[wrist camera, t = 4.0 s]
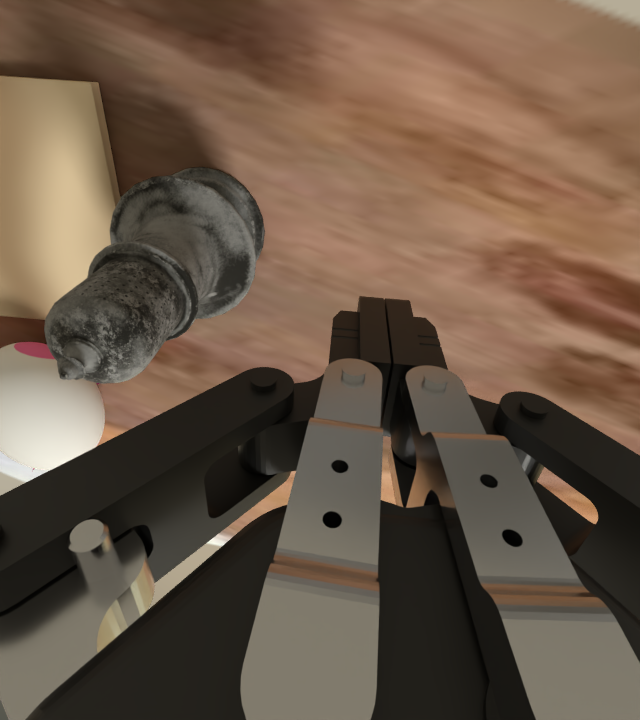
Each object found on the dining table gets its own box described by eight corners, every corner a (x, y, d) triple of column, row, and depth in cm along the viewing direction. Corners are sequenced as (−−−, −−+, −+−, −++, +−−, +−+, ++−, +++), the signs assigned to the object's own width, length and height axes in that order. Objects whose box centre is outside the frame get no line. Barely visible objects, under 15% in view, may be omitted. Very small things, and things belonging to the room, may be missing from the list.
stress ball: (48, 302, 27) (-79, 351, 23) (108, 325, 22) (-40, 393, 18) (97, 399, 31) (-4, 456, 27) (157, 437, 26) (45, 513, 22)
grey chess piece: (124, 176, 19) (-130, 286, 9) (248, 145, 18) (113, 233, 8) (176, 294, 22) (27, 473, 12) (285, 274, 21) (219, 453, 11)
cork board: (98, 82, 17) (90, 82, 17) (144, 323, 23) (139, 328, 23) (-143, 64, 18) (-158, 64, 17) (-35, 306, 24) (-43, 311, 23)
